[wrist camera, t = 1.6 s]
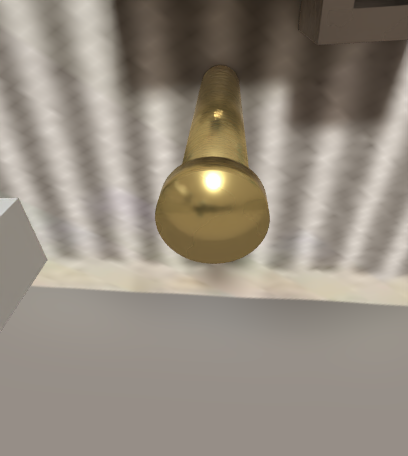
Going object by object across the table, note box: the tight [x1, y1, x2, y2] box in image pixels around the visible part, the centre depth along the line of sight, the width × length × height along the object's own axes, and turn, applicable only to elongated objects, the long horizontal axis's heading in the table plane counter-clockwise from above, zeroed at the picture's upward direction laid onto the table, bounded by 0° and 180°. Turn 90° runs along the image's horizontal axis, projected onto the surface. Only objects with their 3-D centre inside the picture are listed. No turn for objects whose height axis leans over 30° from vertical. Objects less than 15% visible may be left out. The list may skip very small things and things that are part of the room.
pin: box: [155, 65, 270, 264], centre depth 18 cm, size 4×4×17 cm
